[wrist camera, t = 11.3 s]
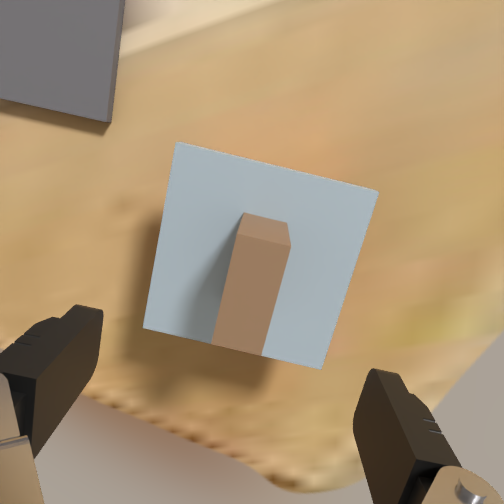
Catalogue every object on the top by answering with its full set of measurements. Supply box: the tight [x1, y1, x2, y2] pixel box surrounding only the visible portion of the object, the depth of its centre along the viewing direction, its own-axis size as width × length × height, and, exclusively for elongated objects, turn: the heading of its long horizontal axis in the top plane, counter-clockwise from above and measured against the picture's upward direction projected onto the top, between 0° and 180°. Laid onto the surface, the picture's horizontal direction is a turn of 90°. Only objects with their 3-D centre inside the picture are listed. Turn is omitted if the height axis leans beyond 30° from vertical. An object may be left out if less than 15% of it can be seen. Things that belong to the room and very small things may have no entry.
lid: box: [143, 142, 379, 370], centre depth 20 cm, size 10×10×5 cm
